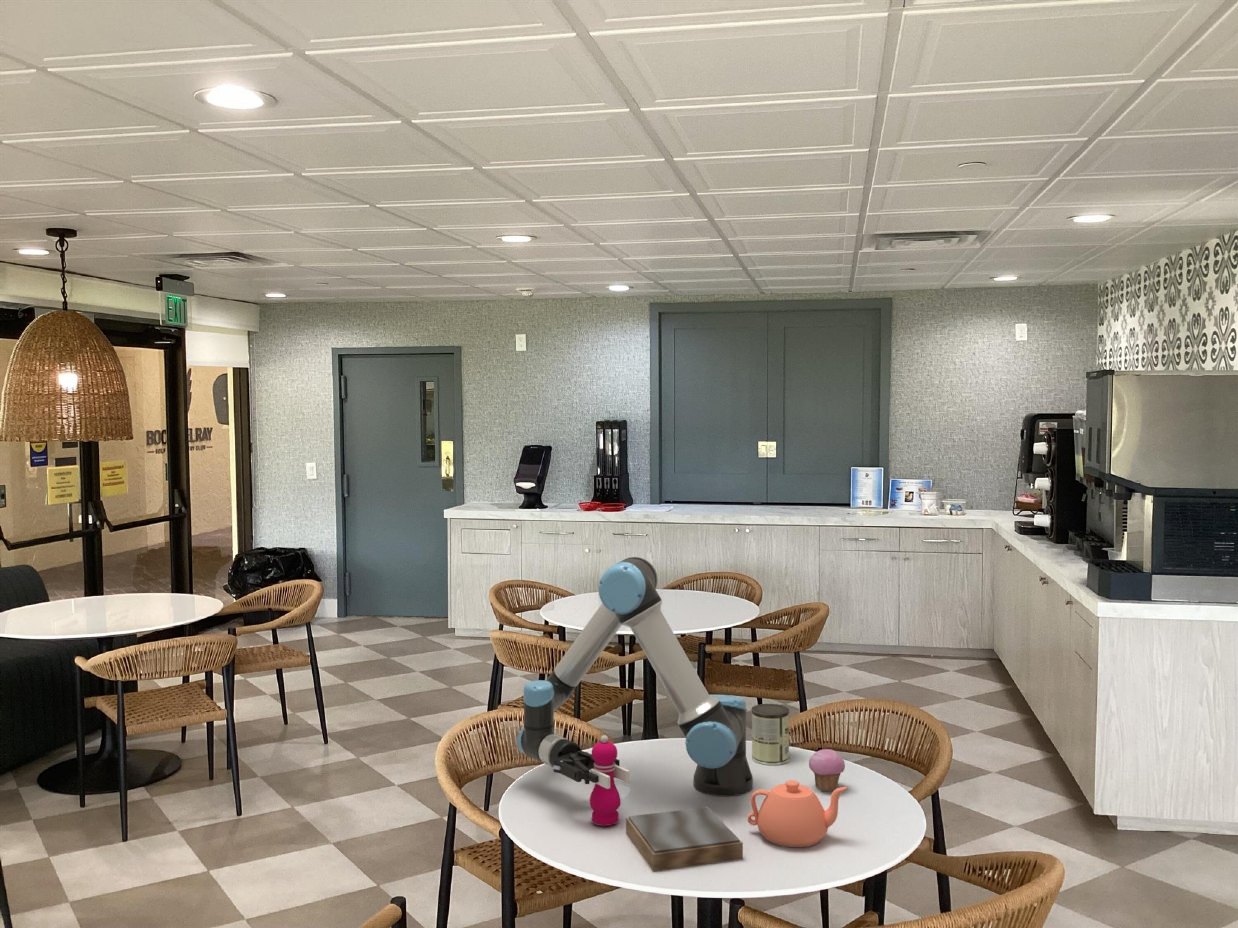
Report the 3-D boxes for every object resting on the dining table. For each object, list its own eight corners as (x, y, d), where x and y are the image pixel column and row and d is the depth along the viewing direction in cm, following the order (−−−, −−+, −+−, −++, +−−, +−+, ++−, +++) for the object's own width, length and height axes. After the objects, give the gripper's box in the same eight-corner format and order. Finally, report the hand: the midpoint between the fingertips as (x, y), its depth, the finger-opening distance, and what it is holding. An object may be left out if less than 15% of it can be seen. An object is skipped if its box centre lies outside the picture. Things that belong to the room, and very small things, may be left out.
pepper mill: (625, 816, 232) (624, 732, 231) (614, 828, 225) (613, 741, 224) (596, 812, 234) (595, 729, 234) (585, 824, 228) (584, 738, 227)
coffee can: (750, 752, 278) (750, 702, 278) (787, 753, 277) (787, 703, 277) (752, 764, 268) (752, 713, 268) (790, 765, 267) (790, 714, 266)
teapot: (847, 827, 226) (847, 773, 226) (847, 856, 211) (847, 798, 211) (750, 819, 231) (750, 766, 231) (744, 847, 216) (743, 791, 216)
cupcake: (839, 782, 254) (839, 744, 254) (848, 795, 246) (848, 755, 245) (805, 783, 254) (805, 745, 254) (812, 796, 245) (812, 756, 245)
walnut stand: (708, 822, 229) (708, 805, 229) (742, 858, 210) (742, 840, 210) (626, 832, 224) (626, 815, 224) (653, 871, 205) (653, 852, 204)
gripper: (590, 760, 249) (649, 786, 231) (530, 777, 238) (587, 805, 220) (590, 731, 249) (649, 754, 231) (529, 746, 238) (586, 772, 219)
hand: (618, 779), depth 225 cm, fingers closed on pepper mill, 5 cm apart
